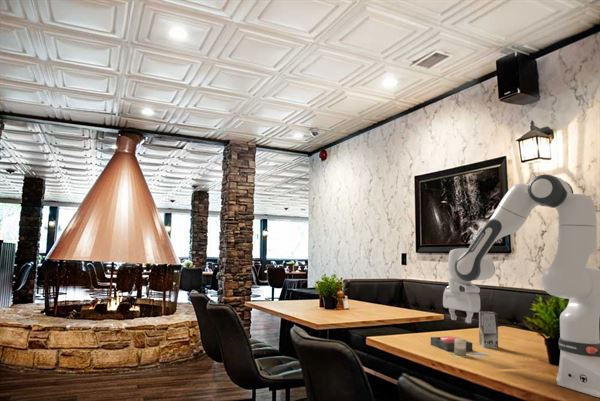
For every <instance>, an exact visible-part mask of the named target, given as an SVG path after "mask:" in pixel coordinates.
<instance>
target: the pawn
mask: <svg viewBox="0 0 600 401" xmlns="http://www.w3.org/2000/svg"><path fill="white" fill-rule="evenodd" d="M466 341H467V340H466V339H463V338H461V339H454V347H455V351H454V353H455V355H457V356H466V354H467V351H466Z"/></svg>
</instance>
